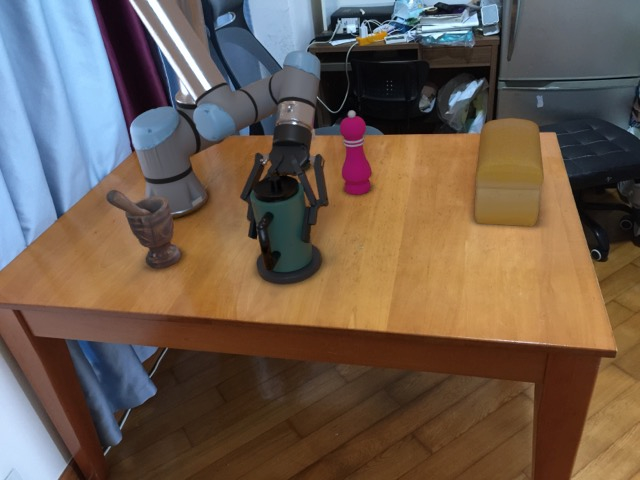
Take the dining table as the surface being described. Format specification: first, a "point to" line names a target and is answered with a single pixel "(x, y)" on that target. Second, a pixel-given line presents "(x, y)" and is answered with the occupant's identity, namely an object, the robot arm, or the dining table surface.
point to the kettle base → (293, 275)
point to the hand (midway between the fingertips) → (278, 239)
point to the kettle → (281, 223)
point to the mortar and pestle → (150, 226)
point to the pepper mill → (355, 155)
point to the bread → (508, 173)
